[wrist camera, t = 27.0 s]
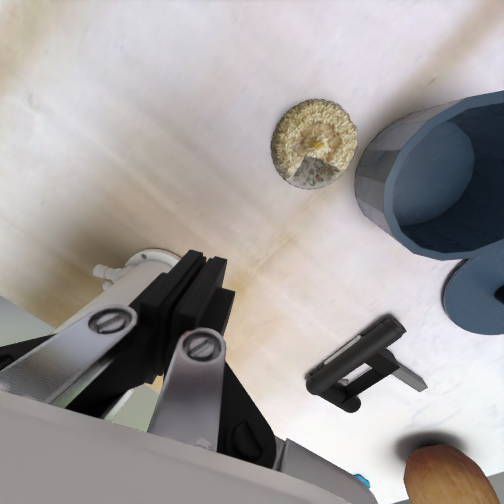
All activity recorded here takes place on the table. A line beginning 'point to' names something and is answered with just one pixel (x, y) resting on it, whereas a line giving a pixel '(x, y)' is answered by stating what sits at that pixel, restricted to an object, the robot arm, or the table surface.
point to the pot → (439, 179)
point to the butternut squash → (446, 478)
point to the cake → (313, 144)
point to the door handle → (354, 356)
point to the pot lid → (478, 294)
